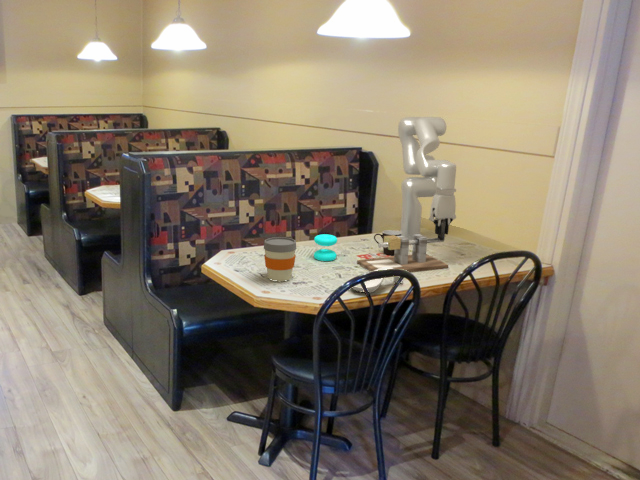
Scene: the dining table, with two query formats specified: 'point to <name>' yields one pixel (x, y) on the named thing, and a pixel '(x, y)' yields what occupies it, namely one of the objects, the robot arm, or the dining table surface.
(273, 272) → the reusable coffee cup
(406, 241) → the wooden base with brackets
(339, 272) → the dining table surface
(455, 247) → the dining table surface
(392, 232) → the coffee mug
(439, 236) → the shaft
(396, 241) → the block
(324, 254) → the turquoise hourglass
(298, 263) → the dining table surface
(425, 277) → the dining table surface
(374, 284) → the spoon rest
